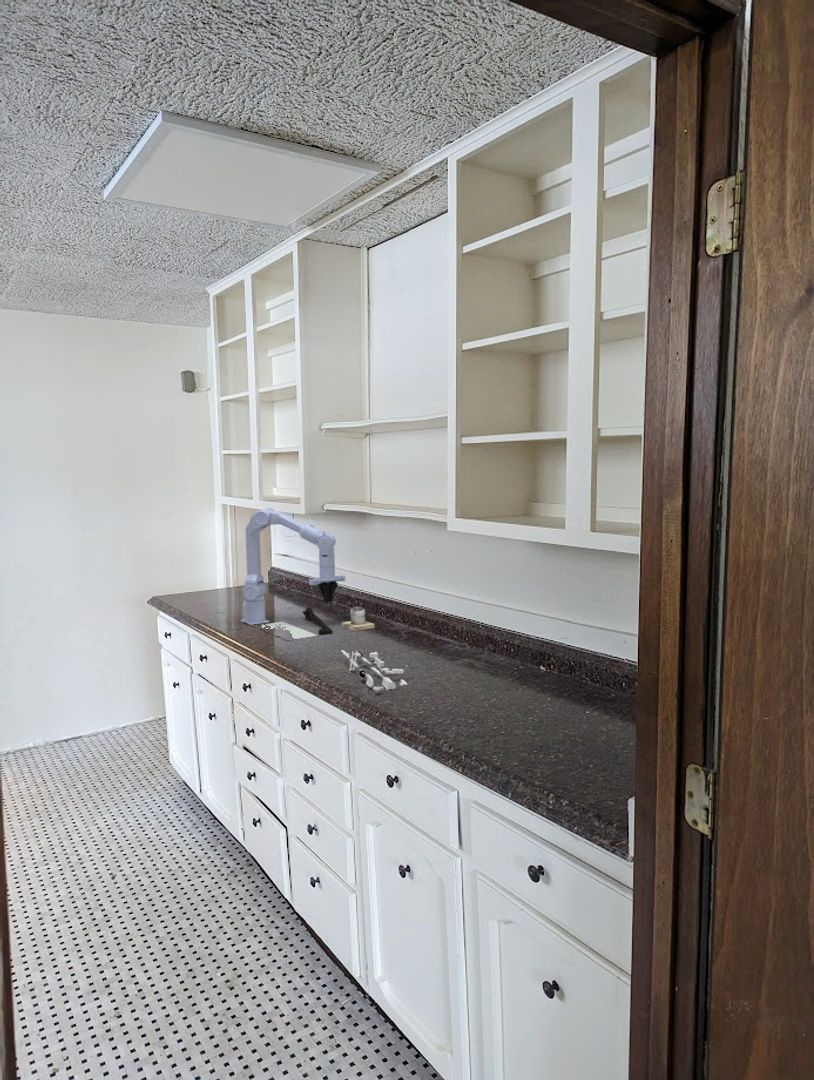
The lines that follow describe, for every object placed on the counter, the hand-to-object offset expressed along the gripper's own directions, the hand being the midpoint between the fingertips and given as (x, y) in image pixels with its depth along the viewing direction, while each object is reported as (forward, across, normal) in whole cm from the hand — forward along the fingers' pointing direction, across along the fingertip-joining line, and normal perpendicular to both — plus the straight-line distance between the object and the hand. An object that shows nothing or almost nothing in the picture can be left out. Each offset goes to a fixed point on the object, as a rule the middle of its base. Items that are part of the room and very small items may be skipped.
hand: (328, 601), depth 266 cm
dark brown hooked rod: (+9, -6, 0) cm, 11 cm away
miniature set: (+9, -22, -65) cm, 69 cm away
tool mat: (+8, -18, 0) cm, 20 cm away
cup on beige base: (+8, +6, -12) cm, 16 cm away
